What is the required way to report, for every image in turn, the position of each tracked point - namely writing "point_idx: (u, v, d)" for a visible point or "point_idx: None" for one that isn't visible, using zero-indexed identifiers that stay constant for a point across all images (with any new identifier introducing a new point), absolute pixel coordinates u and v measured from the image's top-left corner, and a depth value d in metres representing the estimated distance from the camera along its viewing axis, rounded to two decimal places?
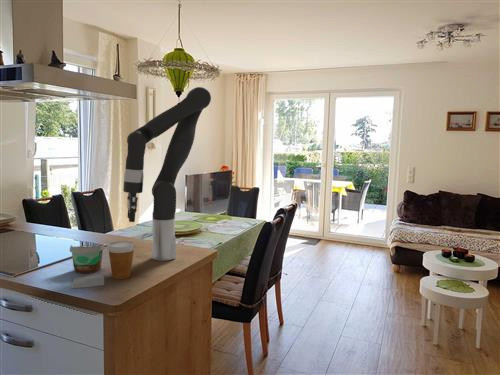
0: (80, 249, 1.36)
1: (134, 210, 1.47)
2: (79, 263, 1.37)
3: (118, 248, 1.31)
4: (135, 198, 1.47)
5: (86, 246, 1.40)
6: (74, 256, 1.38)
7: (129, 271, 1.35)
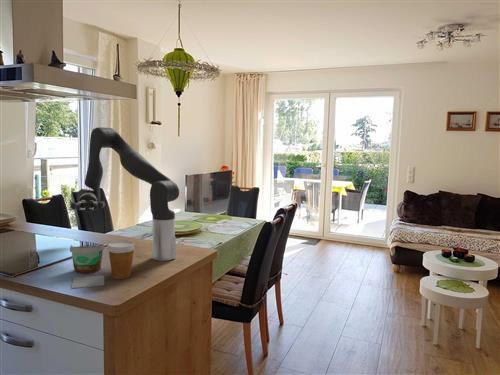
0: (80, 249, 1.36)
1: (71, 205, 1.53)
2: (79, 263, 1.37)
3: (118, 248, 1.31)
4: (70, 203, 1.57)
5: (86, 246, 1.40)
6: (74, 256, 1.38)
7: (129, 271, 1.35)
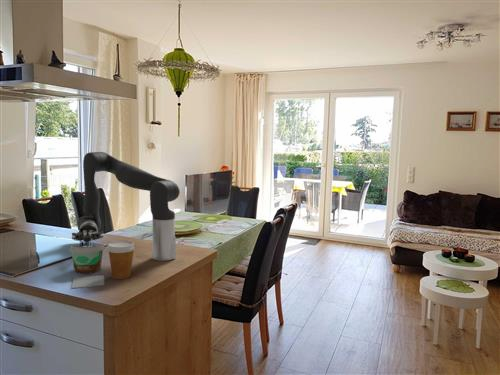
0: (80, 249, 1.36)
1: (79, 236, 1.55)
2: (79, 263, 1.37)
3: (118, 248, 1.31)
4: (72, 234, 1.57)
5: (86, 246, 1.40)
6: (74, 256, 1.38)
7: (129, 271, 1.35)
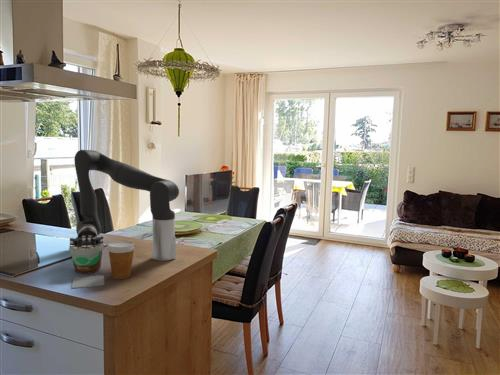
0: (79, 250, 1.35)
1: None
2: (79, 263, 1.37)
3: (118, 248, 1.31)
4: (70, 240, 1.46)
5: (85, 246, 1.39)
6: (73, 256, 1.37)
7: (129, 271, 1.35)
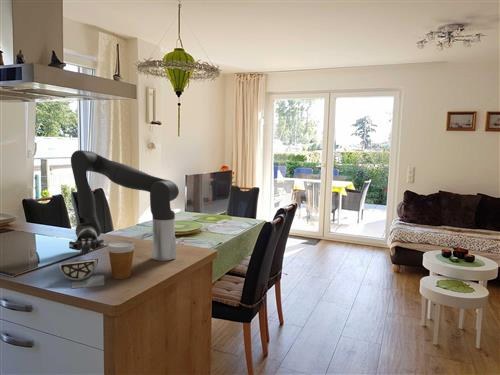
0: (73, 279, 1.28)
1: (77, 245, 1.41)
2: None
3: (118, 248, 1.31)
4: (69, 243, 1.43)
5: (77, 266, 1.29)
6: None
7: (129, 271, 1.35)
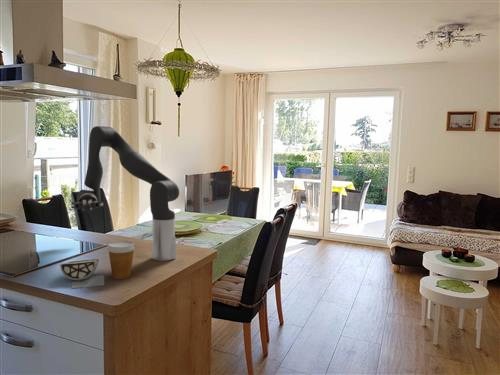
0: (73, 279, 1.28)
1: (78, 204, 1.52)
2: None
3: (118, 248, 1.31)
4: (71, 204, 1.54)
5: (77, 266, 1.29)
6: None
7: (129, 271, 1.35)
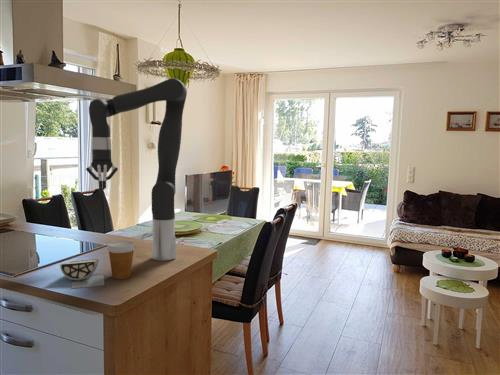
0: (73, 279, 1.28)
1: (94, 178, 1.56)
2: None
3: (118, 248, 1.31)
4: (86, 169, 1.54)
5: (77, 266, 1.29)
6: None
7: (129, 271, 1.35)
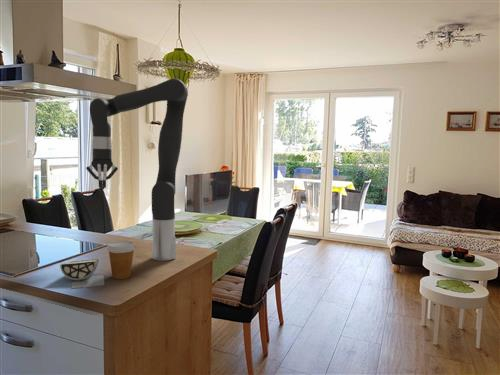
0: (73, 279, 1.28)
1: (94, 177, 1.55)
2: None
3: (118, 248, 1.31)
4: None
5: (77, 266, 1.29)
6: None
7: (129, 271, 1.35)
